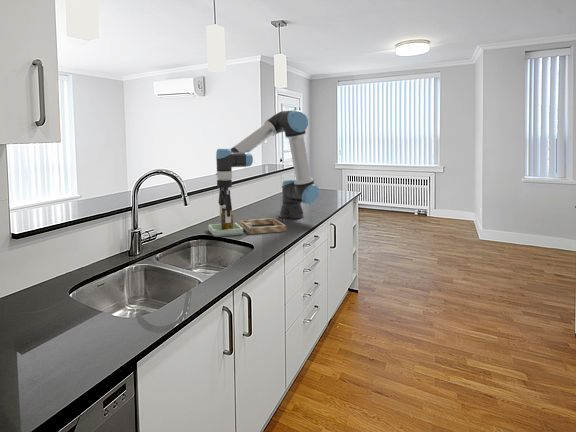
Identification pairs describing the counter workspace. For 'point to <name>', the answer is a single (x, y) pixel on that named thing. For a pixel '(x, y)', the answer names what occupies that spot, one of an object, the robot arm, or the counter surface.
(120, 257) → the counter surface
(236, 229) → the green tray
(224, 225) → the condiment
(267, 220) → the brown wooden tray
